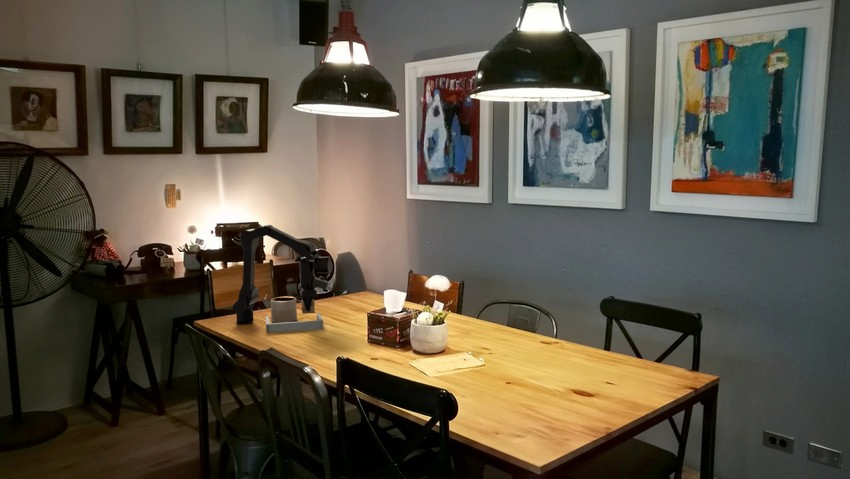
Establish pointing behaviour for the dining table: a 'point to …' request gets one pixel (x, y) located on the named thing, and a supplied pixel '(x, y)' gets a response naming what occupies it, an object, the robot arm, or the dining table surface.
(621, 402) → the dining table surface
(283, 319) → the planter
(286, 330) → the tray bay
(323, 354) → the dining table surface
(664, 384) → the dining table surface
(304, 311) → the walnut block
